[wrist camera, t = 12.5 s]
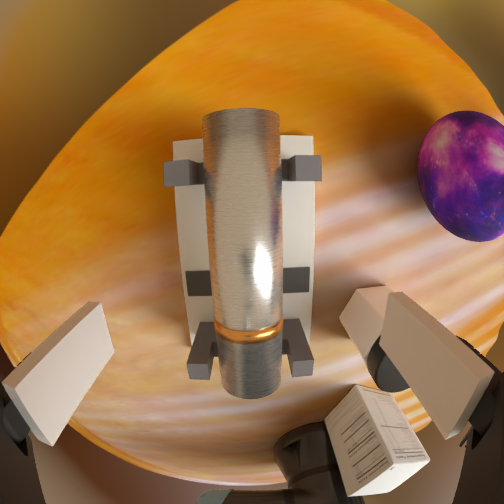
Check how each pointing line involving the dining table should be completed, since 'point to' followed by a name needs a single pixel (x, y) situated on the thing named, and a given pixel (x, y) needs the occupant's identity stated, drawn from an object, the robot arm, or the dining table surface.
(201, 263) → the cradle stand
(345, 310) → the jar
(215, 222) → the steel tube
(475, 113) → the decorative orb
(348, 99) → the dining table surface
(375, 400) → the supplement box
